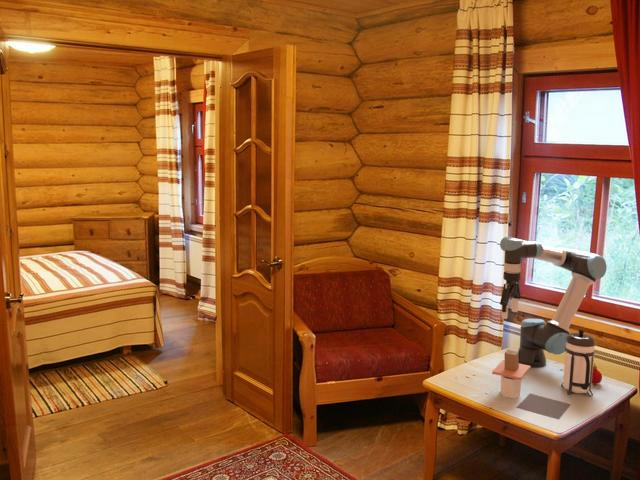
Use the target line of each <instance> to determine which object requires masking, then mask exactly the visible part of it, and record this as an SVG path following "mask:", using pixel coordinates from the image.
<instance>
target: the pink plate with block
mask: <svg viewBox="0 0 640 480" xmlns="http://www.w3.org/2000/svg"><path fill="white" fill-rule="evenodd" d="M531 369H532V367H531V366H529V365H524V364H519V352H518V350H511V349H506V351H504V359H502V360H501V361H500V362H499V363H498V364H497V366H495V368H493V370H492V371H491V372H492V373H491V374H492V375H496V376H500V377H501V376H504V377H509V378H513V379H517V380H521V381H522V379H523V378H524V377H525V376H526V375H527V373H528V372H529V371H530V370H531Z"/></svg>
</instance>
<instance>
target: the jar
mask: <svg viewBox="0 0 640 480" xmlns="http://www.w3.org/2000/svg"><path fill="white" fill-rule="evenodd" d="M500 377H501V380H500V394H501V396H502V397H505V398H510V399H516V398H520V397H521V389H522V388H521V386H522V380H517V379H513V378H509V377H504V376H500Z"/></svg>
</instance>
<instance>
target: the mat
mask: <svg viewBox="0 0 640 480" xmlns="http://www.w3.org/2000/svg"><path fill="white" fill-rule="evenodd" d="M571 405H572V404H571V403H569V402H568V403H567V402H565V401H560V400H557V399H554V398H553V399H552V398H548V397H544V396H541V395H538V394H533V393H529V394H527V396H526V397H525V398H524V399H523V400H522V401H521V402H520V403H519V404H518V405H517V406H516V408H517V409H520V410H523V411H527V412H531V413H535V414H537V415H541V416H544V417H549V418H553V419H556V420H560V419H561V417H562V416H563V415H564V414H565V413H566V411H567V410H568V409H569V407H570V406H571Z"/></svg>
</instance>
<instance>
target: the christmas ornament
mask: <svg viewBox="0 0 640 480" xmlns="http://www.w3.org/2000/svg"><path fill="white" fill-rule="evenodd" d="M602 380H603V374H602V372H600V371H599V369H598V366H597V365H596V363H593V373H592V384H591V385H598V384H600V383H602Z"/></svg>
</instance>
